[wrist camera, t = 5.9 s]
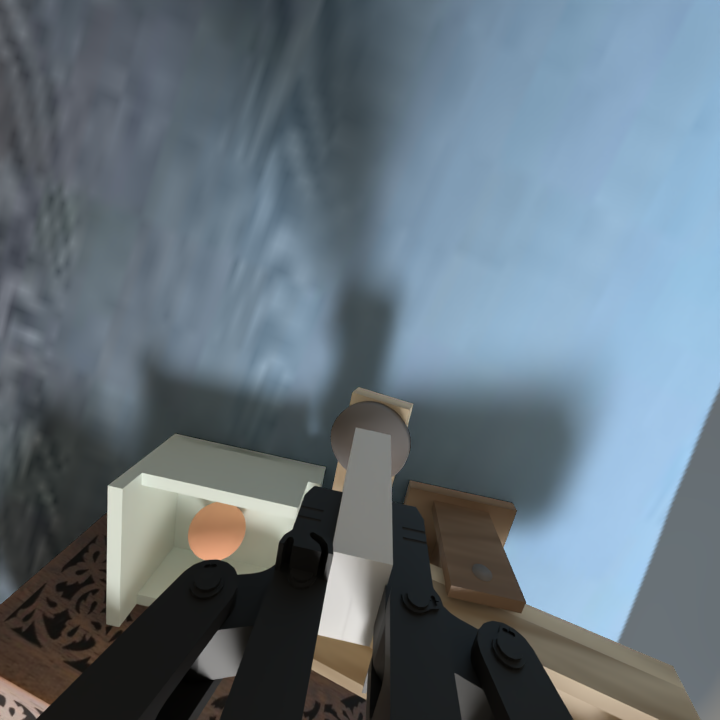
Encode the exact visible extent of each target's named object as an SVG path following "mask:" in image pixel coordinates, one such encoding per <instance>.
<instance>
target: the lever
mask: <svg viewBox="0 0 720 720" xmlns="http://www.w3.org/2000/svg"><path fill="white" fill-rule="evenodd" d="M412 407H413V403H409V402H406V401H403V400H399V399H396V398H393V397H390V396H386V395H383V394H380V393H377V392H373V391H370V390H367V389H364V388H360V387H358V388H357V389H356V390H354V391H353V392H352V396H351V401H350V406H349V407H348V408H346V409H345V410H344V411H343V412H342V413H341V414H340V415H339V416H338V417H337V418H336V420H335V422H334V424H333V426H332V430H331V446H332V449H333V452H334V455H335V457H336V458H337V460H338V464H337V469H336V473H335V478H334V483H333V488H332V490H336V491H340V492H342V490H343V485H344V480H345V475H346V471H347V466H348V461H349V457H350V452H351V448H352V443H353V438H354V434H355V429H356V428H361V429H365V430H370V431H374V432H379V433H384V434H388V435H391V477H392V485H393V481H394V477H395V475H396V474H397V473H398V472H399V471H400V470H401V469H402V468H403V466H404V464H405V463H406V460H407V458H408V455H409V452H410V448H411V439H410V433H409V430H408V428H407V427H408V423H409V419H410V415H411V411H412ZM430 569H431V576H432V583H433V588H434V590H435V591H436V592H437V594H438V595H439V596H440V598H441V601H442V604H443V606H444V607H445V608H446V609H447V610H448V611H449V612H450V613H451V614H453V615H454V616H456V617H457V618H459V619H460V620H462V621H464V622H466V623H468V624H470V625H471V626H473V627H475V628H477V629H479V628H480V627H481V626H482V625H483V623H486V622H489V621H497V622H502V623H504V624H506V625H508V626H510V627H512V628H514V629H515V630H516V631H517V632H519V633H520V634H521V635H522V636H523V637H524V638H525V639H526V640H527V642H528V643H529V644H530V646H531V647H532V648H533V650H534V651H535V653H536V655H537V657H538V658H539V660H540V662H541V664H542V665H543V667H544V669H545V671H546V672H547V674H548V676H549V678H550V679H551V681H552V683H553V685H554V686H555V688H556V690H557V692H558V693H559V695H560V697H561V698H562V700H563V702H564V704H565V705H566V707H567V709H568V711H569V712H570V714H571V716H572V718H573V719H574V720H700V718H699V716H698V714H697V712H696V710H695V708H694V706H693V704H692V702H691V700H690V698H689V696H688V694H687V693H686V691H685V689H684V687H683V685H682V683H681V681H680V679H679V677H678V675H677V673H676V671H675V669H674V667H673V666H671V665H669V664H666V663H664V662H661V661H659V660H657V659H654V658H652V657H650V656H647V655H645V654H643V653H640V652H638V651H636V650H633V649H631V648H628V647H626V646H624V645H621V644H619V643H617V642H614V641H612V640H610V639H607V638H605V637H603V636H600V635H598V634H595V633H593V632H591V631H588V630H586V629H584V628H581V627H579V626H577V625H574V624H572V623H570V622H567V621H565V620H562V619H560V618H558V617H555V616H553V615H551V614H548V613H546V612H544V611H541V610H539V609H536V608H534V607H532V606H529V605H527V604H525V606H524V608H523V611H522V613H517V612H512V611H508V610H504V609H499V608H495V607H490V606H486V605H482V604H477V603H473V602H469V601H464V600H460V599H455V598H451V597H447V591H446V586H445V580H444V575H443V569H442V568H440V567H437V566H435V565H432V564H430ZM372 653H373V637H372V641H371V644H370V647H369V646H364V645H360V644H356V643H351V642H347V641H343V640H338V639H334V638H330V637H325V636H321V635H318V636H317V641H316V647H315V652H314V657H313V663H312V668H311V670H313V671H315V672H317V673H319V674H320V675H322V676H324V677H326V678H328V679H329V680H331V681H333V682H335V683H337V684H339V685H340V686H342V687H344V688H346V689H348V690H349V691H351V692H353V693H355V694H357V695H358V696H360V697H362V698H364V699H366V700H367V693H366V694H365V693H362V690H363V686H364V682H365V678H366V675H367V671H368V668H369V664H370V661H371V657H372Z"/></svg>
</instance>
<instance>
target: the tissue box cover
mask: <svg viewBox="0 0 720 720" xmlns="http://www.w3.org/2000/svg"><path fill="white" fill-rule="evenodd" d="M106 591H107V513H106V514H105V515H104V516H102V517H101V518H100V519H99V520H98V521H97V522H95V523H94V524H93V525H92V526H91V527H90V528H89V529H87V530H86V531H85V532H84V533H83V534H82V535H80V536H79V537H78V538H77V539H76V540H75V541H73V542H72V543H71V544H70V545H69V546H68V547H67V548H65V549H64V550H63V551H62V552H61V553H60V554H58V555H57V556H56V557H55V558H54V559H53V560H52V561H50V562H49V563H48V564H47V565H46V566H45V567H43V568H42V569H41V570H40V571H39V572H38V573H36V574H35V575H34V576H33V577H32V578H31V579H30V580H28V581H27V582H26V583H25V584H24V585H23V586H21V587H20V588H19V589H18V590H17V591H16V592H14V593H13V594H12V595H11V596H10V597H9V598H8V599H6V600H5V601H4V602H3V603H2V604H1V605H0V720H36V719H37V718H38V717H39V716H40V715H41V714H42V713H43V712H44V711H45V710H46V709H47V708H48V707H49V706H50V705H51V704H52V703H53V702H54V701H55V700H56V699H57V698H58V697H59V696H60V695H61V694H62V693H63V692H64V691H65V690H66V689H67V688H68V687H69V686H70V685H71V684H72V683H73V682H74V681H75V680H76V679H77V678H78V677H79V676H80V675H81V674H82V673H83V672H84V671H85V670H86V669H87V668H88V667H89V666H90V665H91V664H92V663H93V662H94V661H95V660H96V659H97V658H98V657H99V656H100V655H101V654H102V653H103V652H104V651H105V650H106V649H107V648H108V647H109V646H110V645H111V644H112V643H113V642H114V641H115V640H116V639H117V638H118V637H119V636H120V635H121V634H122V633H123V632H124V631H125V630H126V629H127V628H128V627H129V626H130V625H131V624H132V623H133V622H134V621H135V620H136V619H137V618H138V617H139V616H140V615H141V614H142V613H143V612H144V611H145V610H146V609H147V608H148V606H144V605H139V604H136V605H135V607H134V608H133V609H132V611H131V612H130V613H129V615H128V616H127V617H126V619H125V620H124V621H123V623H122V624H121V625H120V627H116V626H112V625H107V624H106ZM234 679H235V676H232V677H226V678H223V679H222V681H221V682H220V684H219V685H218V687H217V688H216V690H215V692H214V693H213V695H212V696H211V698H210V700H209V701H208V703H207V704H206V706H205V707H204V709H203V711H202V712H201V714H200V715H199V717H198V718H197V720H219V719H220V717H221V714H222V711H223V709H224V706H225V703H226V700H227V698H228V695H229V692H230V689H231V687H232V684H233V681H234ZM365 719H366V699H364V698H362V697H360V696H358V695H357V694H355V693H353V692H351V691H349V690H348V689H346V688H344V687H342V686H340V685H339V684H337V683H335V682H333V681H331V680H329V679H328V678H326V677H324V676H322V675H320V674H319V673H317V672H315V671H313V670H311V674H310V679H309V684H308V690H307V695H306V700H305V706H304V711H303V717H302V720H365Z"/></svg>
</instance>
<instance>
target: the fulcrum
mask: <svg viewBox="0 0 720 720" xmlns="http://www.w3.org/2000/svg"><path fill="white" fill-rule="evenodd" d="M403 504H404V505H409V506H413V507H416V508H417V509H418V511H419V513H420V514H421V516H422V517H423V519H424V525H425V534H426V540H427V547H428V554H429V561H430V564H432V565H435V566H437V567H440V568H442V569H443V575H444V580H445V586H446V591H447V597H451V598H455V599H460V600H464V601H469V602H473V603H477V604H482V605H486V606H490V607H495V608H499V609H504V610H508V611H512V612H517V613H522V611H523V608H524V606H525V604H526V601H525V599H524V596H523V594H522V591H521V589H520V587H519V584H518V582H517V579H516V577H515V575H514V572H513V570H512V567H511V565H510V563H509V560H508V558H507V555H506V553H505V551H504V548H503V547H504V544H505V542H506V539H507V536H508V534H509V531H510V528H511V526H512V523H513V520H514V518H515V515H516V512H517V510H516V508H515V506H514V504H513V503H510V502H506V501H501V500H497V499H492V498H488V497H483V496H479V495H474V494H470V493H465V492H461V491H456V490H452V489H447V488H443V487H438V486H434V485H429V484H425V483H420V482H416V481H411V480H410V481H409V485H408V489H407V492H406V496H405V500H404V503H403Z"/></svg>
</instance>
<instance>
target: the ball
mask: <svg viewBox="0 0 720 720" xmlns="http://www.w3.org/2000/svg"><path fill="white" fill-rule="evenodd" d="M245 531H246V522H245V518H244V515H243V513H242V512H241V510H240V509H239V508H238V507H237V506H233V505H228V504H224V503H219V502H215V503H211V504H209V505H207V506H205V507H204V508H202V509H201V510H200V511H199V512H198V513H197V514H196V515H195V517H194V518H193V520H192V522H191V524H190V527H189V531H188V542H189V546H190V548H191V550H192V551H193V553H194V554H195V555H196V556H197V557H199V558H201V559H203V560H214V559H217V560H222V559H224V558H227V557H228V556H230V555H231V554H232V553H234V552H235V551H236V550H237V549H238V547H239V546H240V544H241V543H242V541H243V539H244V536H245Z"/></svg>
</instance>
